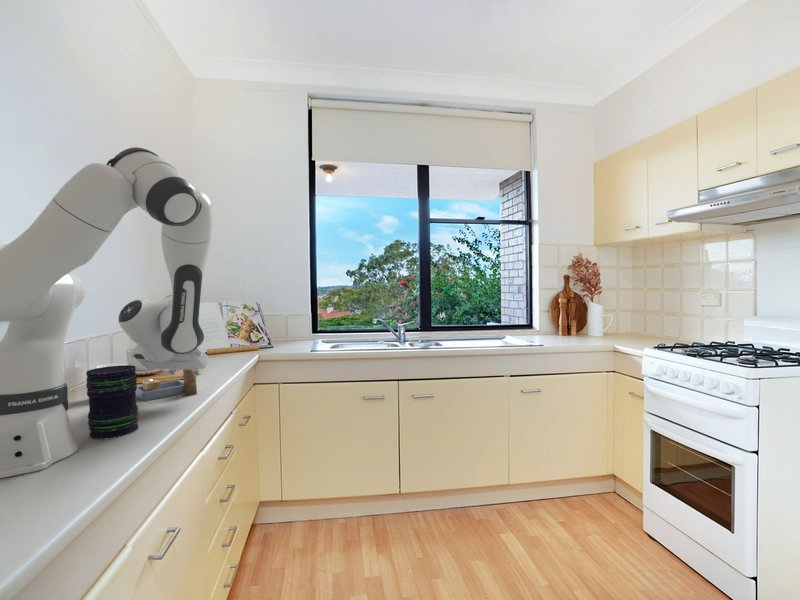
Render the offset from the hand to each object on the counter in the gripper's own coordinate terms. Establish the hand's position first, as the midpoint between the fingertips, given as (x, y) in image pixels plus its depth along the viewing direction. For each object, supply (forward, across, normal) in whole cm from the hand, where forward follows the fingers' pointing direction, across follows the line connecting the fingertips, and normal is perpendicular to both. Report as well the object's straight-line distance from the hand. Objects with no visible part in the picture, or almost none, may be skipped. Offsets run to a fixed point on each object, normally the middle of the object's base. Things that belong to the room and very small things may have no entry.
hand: (186, 373), depth 133 cm
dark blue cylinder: (-17, -4, +28) cm, 33 cm away
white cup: (+4, +24, +7) cm, 26 cm away
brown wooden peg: (+7, +1, +3) cm, 8 cm away
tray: (+7, +11, +3) cm, 13 cm away
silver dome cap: (+5, +14, +4) cm, 16 cm away
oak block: (+4, +11, +6) cm, 13 cm away
